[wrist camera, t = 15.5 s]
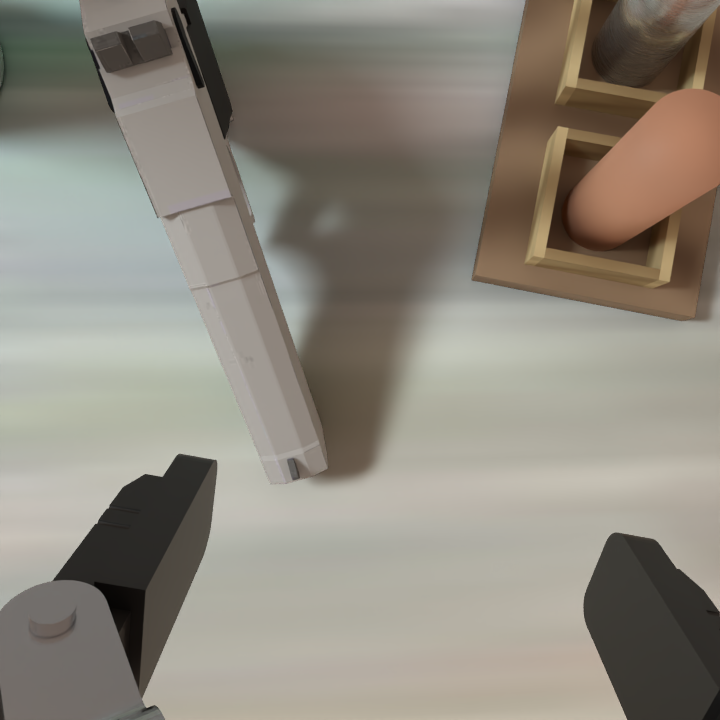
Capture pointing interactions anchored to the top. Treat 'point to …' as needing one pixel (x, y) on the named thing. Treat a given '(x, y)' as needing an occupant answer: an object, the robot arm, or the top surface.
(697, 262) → the wooden compartment tray
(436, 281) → the top surface
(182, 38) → the handgun
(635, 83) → the pin
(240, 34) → the top surface
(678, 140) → the pin
